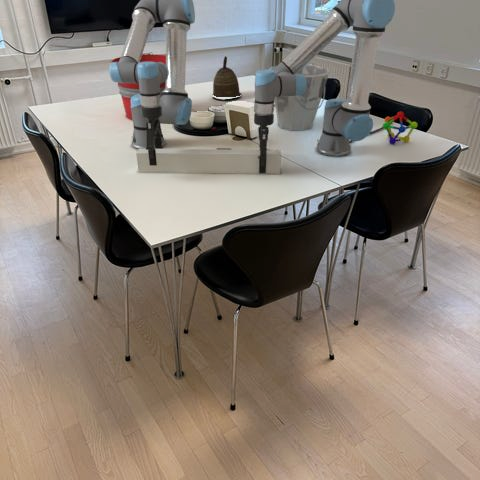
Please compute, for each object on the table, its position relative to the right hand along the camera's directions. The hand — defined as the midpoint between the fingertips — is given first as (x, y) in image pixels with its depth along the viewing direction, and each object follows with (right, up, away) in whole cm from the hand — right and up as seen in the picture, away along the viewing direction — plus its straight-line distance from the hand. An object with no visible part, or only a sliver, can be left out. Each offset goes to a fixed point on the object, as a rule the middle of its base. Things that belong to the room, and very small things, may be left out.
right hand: (262, 169), depth 181 cm
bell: (-18, +62, +100) cm, 119 cm away
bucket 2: (+20, +32, +52) cm, 64 cm away
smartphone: (-16, +8, +14) cm, 23 cm away
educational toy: (+65, +17, +30) cm, 74 cm away
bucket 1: (-60, +42, +67) cm, 99 cm away
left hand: (-43, +4, -2) cm, 43 cm away
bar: (-21, 0, +1) cm, 22 cm away
